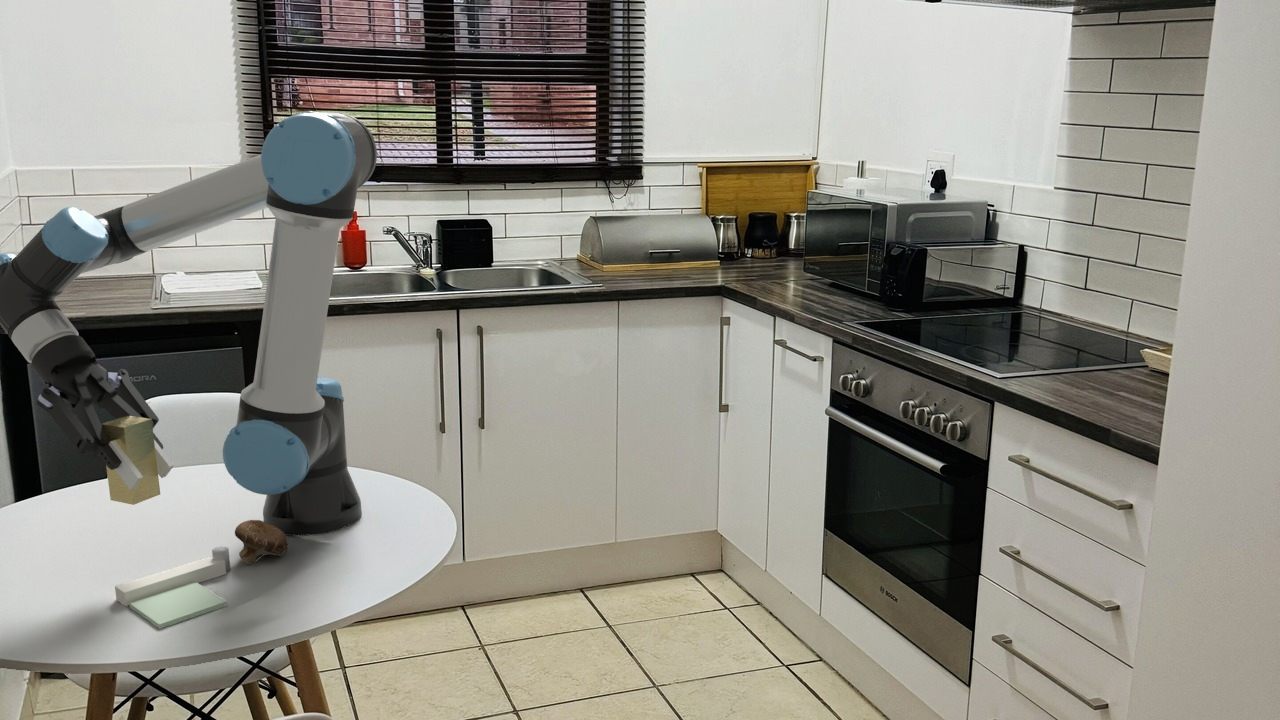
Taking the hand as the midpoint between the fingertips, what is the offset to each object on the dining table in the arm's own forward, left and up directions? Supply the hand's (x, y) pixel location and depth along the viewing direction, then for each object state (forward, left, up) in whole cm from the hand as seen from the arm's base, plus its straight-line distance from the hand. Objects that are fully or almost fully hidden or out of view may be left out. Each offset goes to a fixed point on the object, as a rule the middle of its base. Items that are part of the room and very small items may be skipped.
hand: (152, 477), depth 150 cm
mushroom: (-14, -2, -15) cm, 21 cm away
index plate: (-2, +10, -15) cm, 18 cm away
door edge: (-1, +3, -15) cm, 15 cm away
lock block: (+2, -3, -3) cm, 5 cm away
